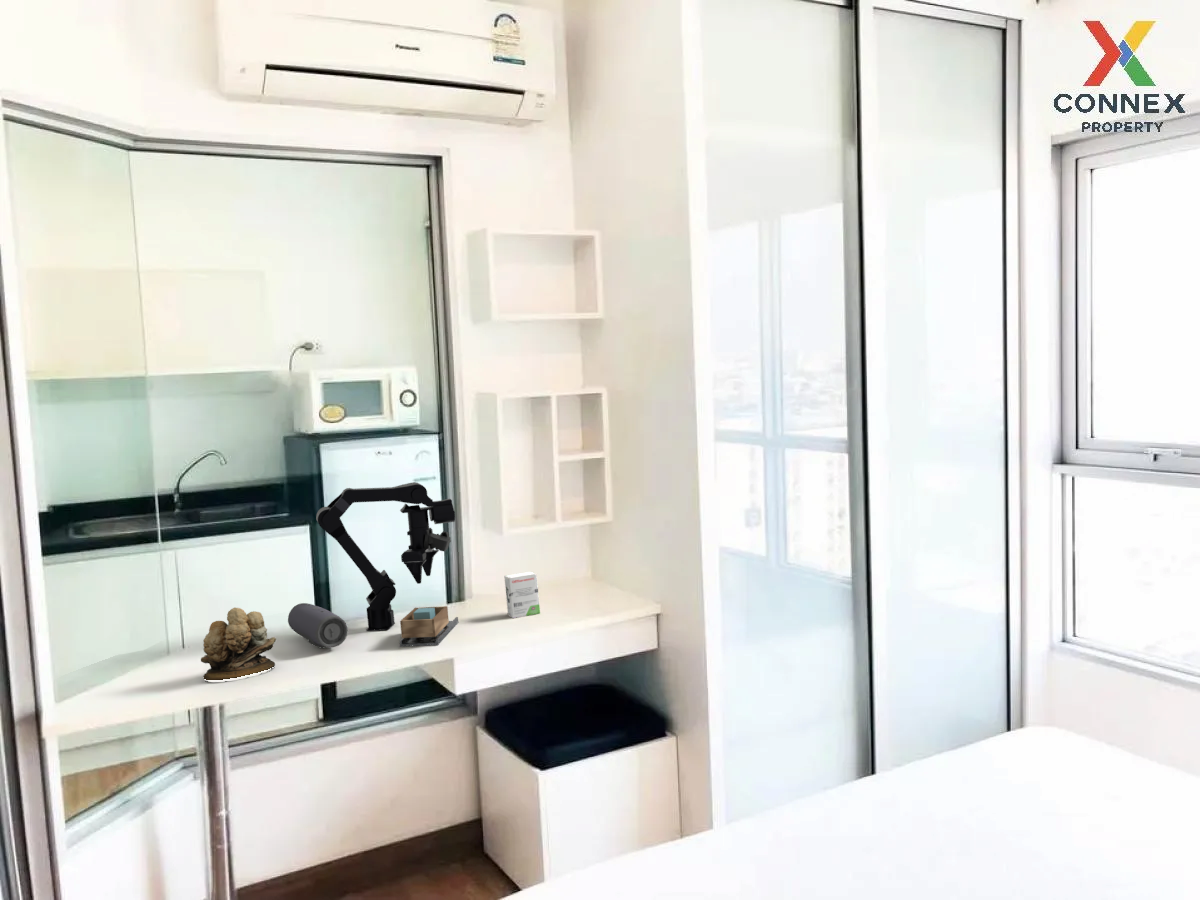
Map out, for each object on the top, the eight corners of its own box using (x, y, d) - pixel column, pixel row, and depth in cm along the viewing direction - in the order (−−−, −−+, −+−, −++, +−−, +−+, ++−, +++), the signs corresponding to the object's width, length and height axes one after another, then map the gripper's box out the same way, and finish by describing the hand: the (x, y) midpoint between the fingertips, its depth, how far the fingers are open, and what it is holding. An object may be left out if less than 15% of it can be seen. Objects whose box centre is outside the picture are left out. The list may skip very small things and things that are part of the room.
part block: (414, 629, 260) (413, 612, 259) (420, 624, 264) (418, 608, 264) (431, 628, 259) (429, 612, 259) (436, 623, 264) (434, 607, 263)
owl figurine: (275, 660, 252) (268, 596, 251) (282, 672, 242) (275, 605, 240) (201, 674, 244) (193, 608, 242) (205, 687, 234) (198, 618, 232)
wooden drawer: (402, 642, 256) (400, 621, 255) (417, 628, 269) (415, 607, 268) (435, 641, 255) (433, 619, 254) (449, 626, 268) (447, 606, 267)
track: (399, 646, 256) (399, 640, 255) (423, 624, 276) (422, 618, 276) (438, 645, 254) (437, 639, 254) (458, 622, 275) (458, 617, 275)
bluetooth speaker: (352, 647, 258) (348, 611, 257) (318, 656, 253) (314, 618, 252) (320, 632, 276) (316, 597, 275) (287, 639, 271) (284, 604, 270)
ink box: (535, 609, 283) (531, 570, 282) (540, 613, 278) (537, 573, 277) (507, 614, 280) (503, 574, 279) (512, 618, 275) (508, 578, 274)
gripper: (437, 531, 267) (442, 586, 269) (454, 519, 286) (459, 570, 287) (398, 533, 269) (403, 588, 270) (418, 521, 287) (422, 572, 289)
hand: (423, 579), depth 279 cm, fingers open, 9 cm apart
